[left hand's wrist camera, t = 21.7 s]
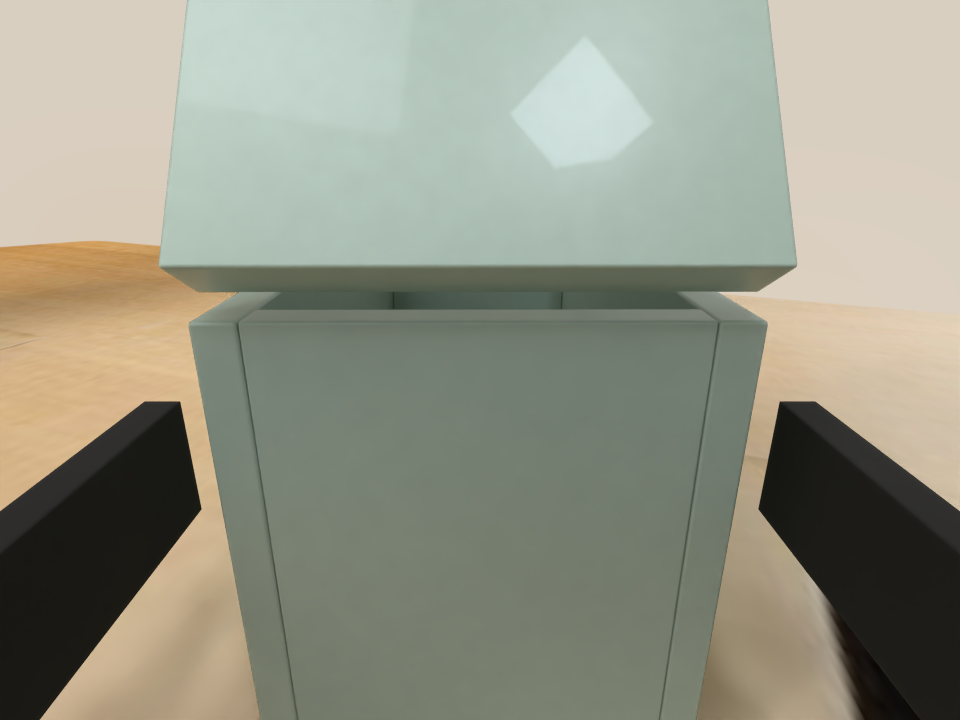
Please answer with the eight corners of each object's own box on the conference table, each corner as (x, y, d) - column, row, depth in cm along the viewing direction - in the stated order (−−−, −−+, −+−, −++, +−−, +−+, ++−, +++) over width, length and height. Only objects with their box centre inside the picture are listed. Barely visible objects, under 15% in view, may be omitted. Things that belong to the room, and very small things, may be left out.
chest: (385, 418, 29) (372, 210, 25) (569, 417, 29) (582, 210, 25) (267, 767, 13) (185, 322, 9) (689, 765, 13) (770, 321, 9)
